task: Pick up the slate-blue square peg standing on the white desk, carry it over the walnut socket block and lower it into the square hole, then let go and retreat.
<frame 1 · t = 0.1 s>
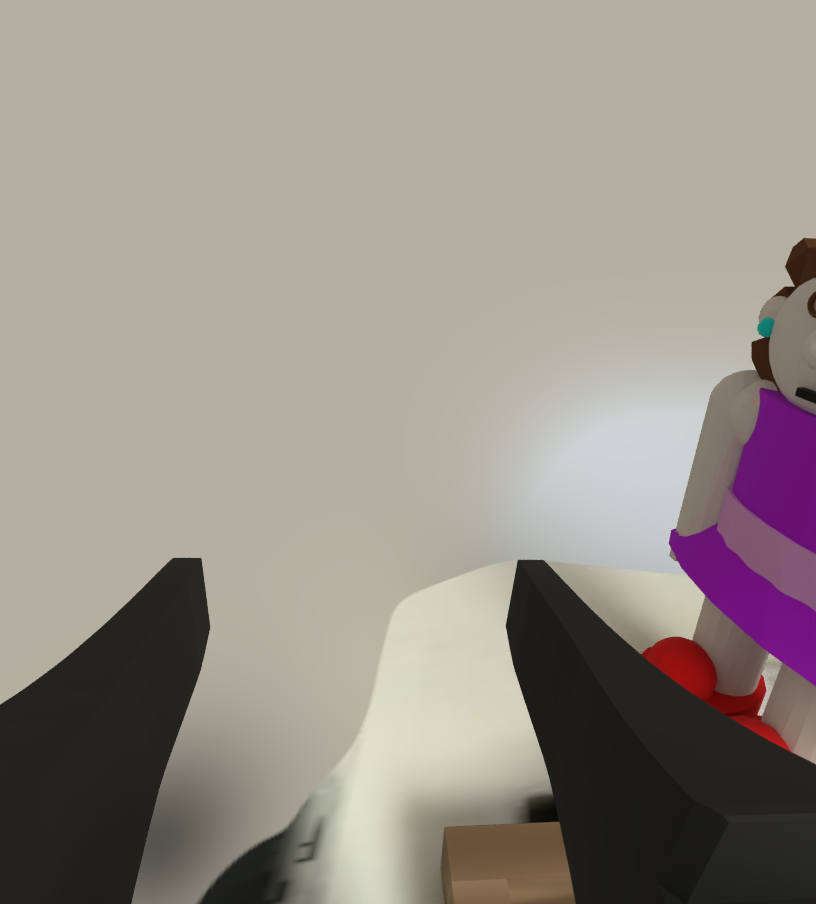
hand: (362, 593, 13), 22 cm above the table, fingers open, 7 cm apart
toy 2: (720, 751, 36), on the table
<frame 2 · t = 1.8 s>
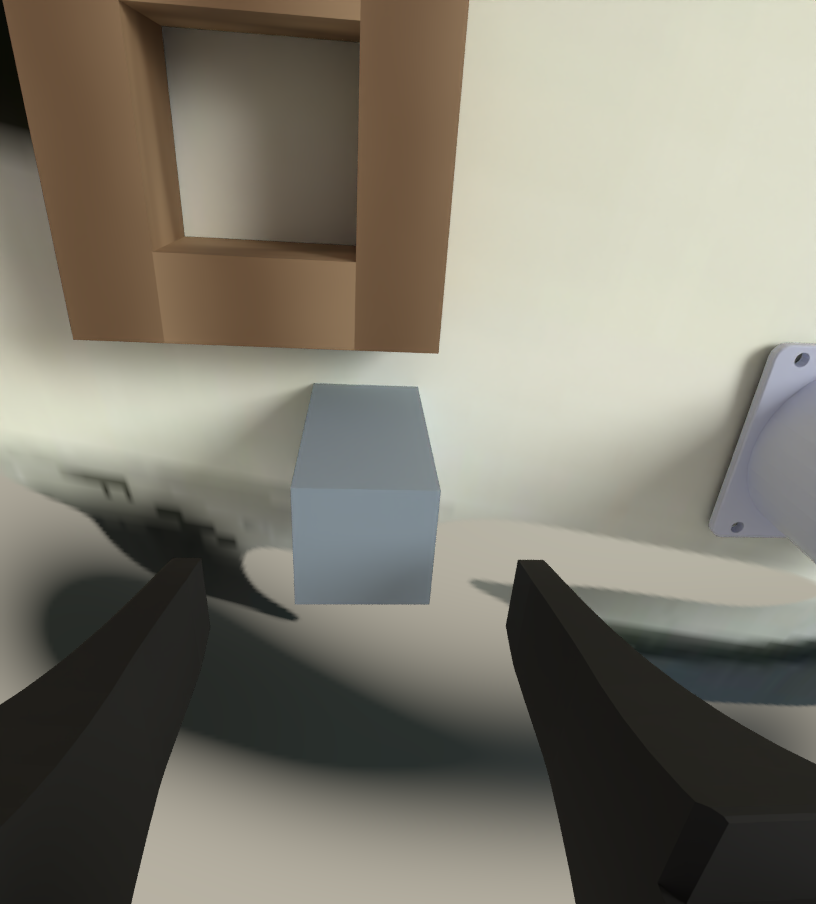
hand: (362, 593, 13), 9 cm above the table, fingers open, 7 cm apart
peg: (364, 431, 21), on the table
socket block: (267, 145, 17), on the table
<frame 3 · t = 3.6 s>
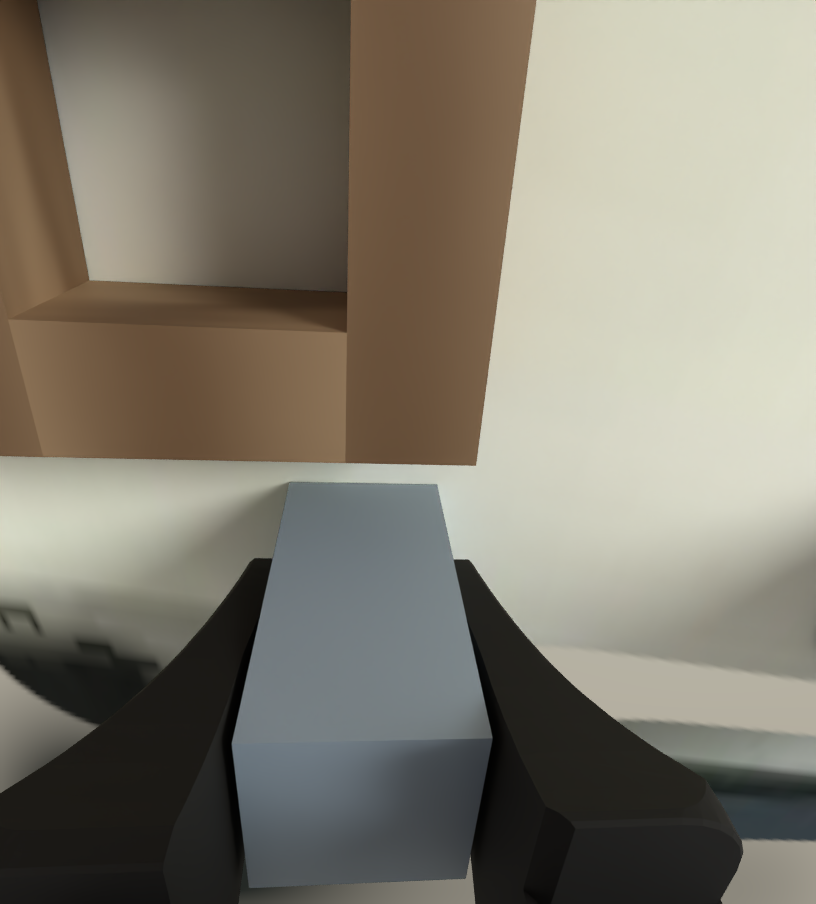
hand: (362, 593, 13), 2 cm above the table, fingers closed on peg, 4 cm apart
peg: (362, 543, 15), on the table, touching gripper
socket block: (210, 142, 11), on the table
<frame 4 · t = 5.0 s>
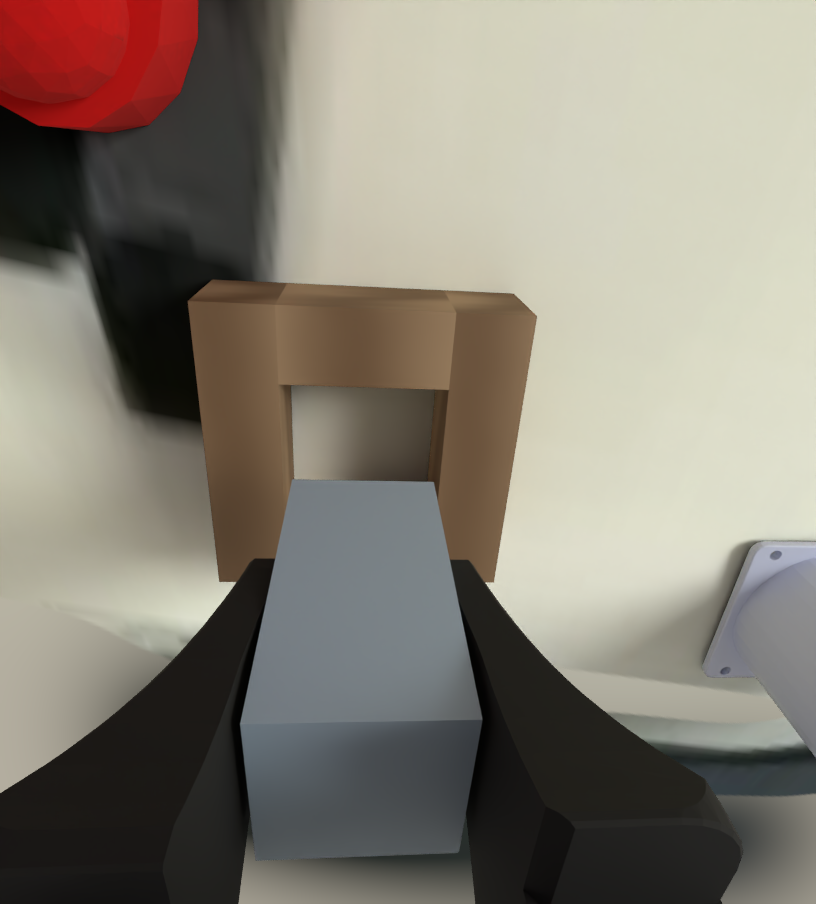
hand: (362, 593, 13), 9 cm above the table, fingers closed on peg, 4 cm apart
peg: (362, 538, 16), point 7 cm above the table, touching gripper
socket block: (362, 423, 22), on the table
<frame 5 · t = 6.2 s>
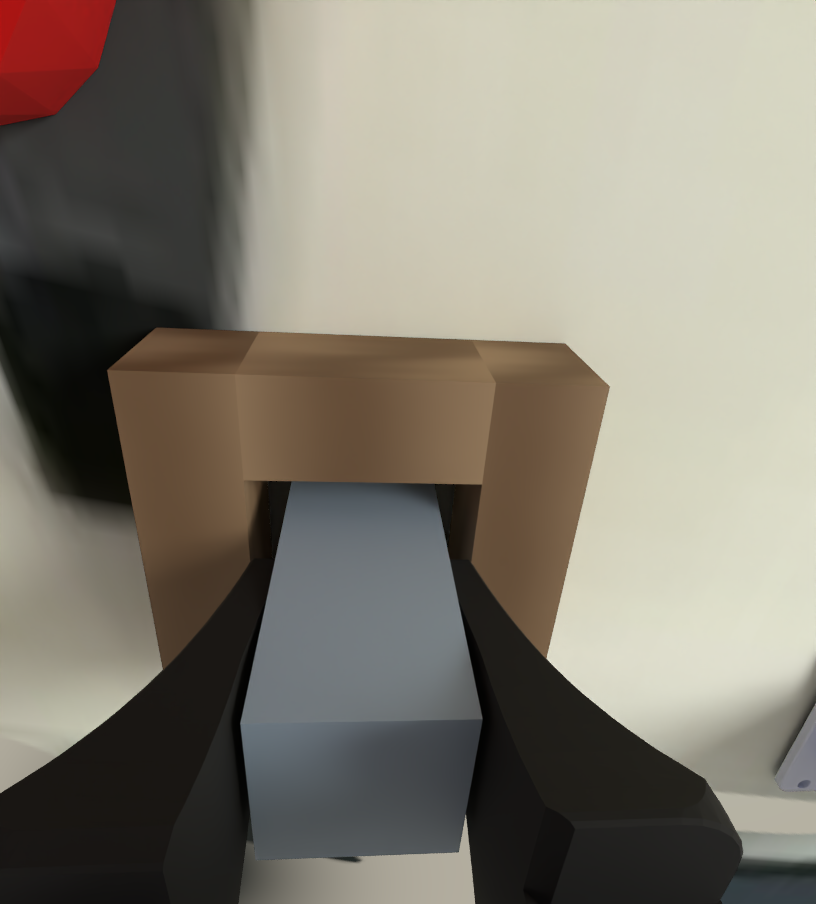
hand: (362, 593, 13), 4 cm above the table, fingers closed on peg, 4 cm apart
peg: (362, 537, 16), point 1 cm above the table, touching gripper
socket block: (362, 507, 17), on the table
when the fingers open (4 cm above the table, at t = 6.8 s): peg drops 1 cm, resting in socket block.
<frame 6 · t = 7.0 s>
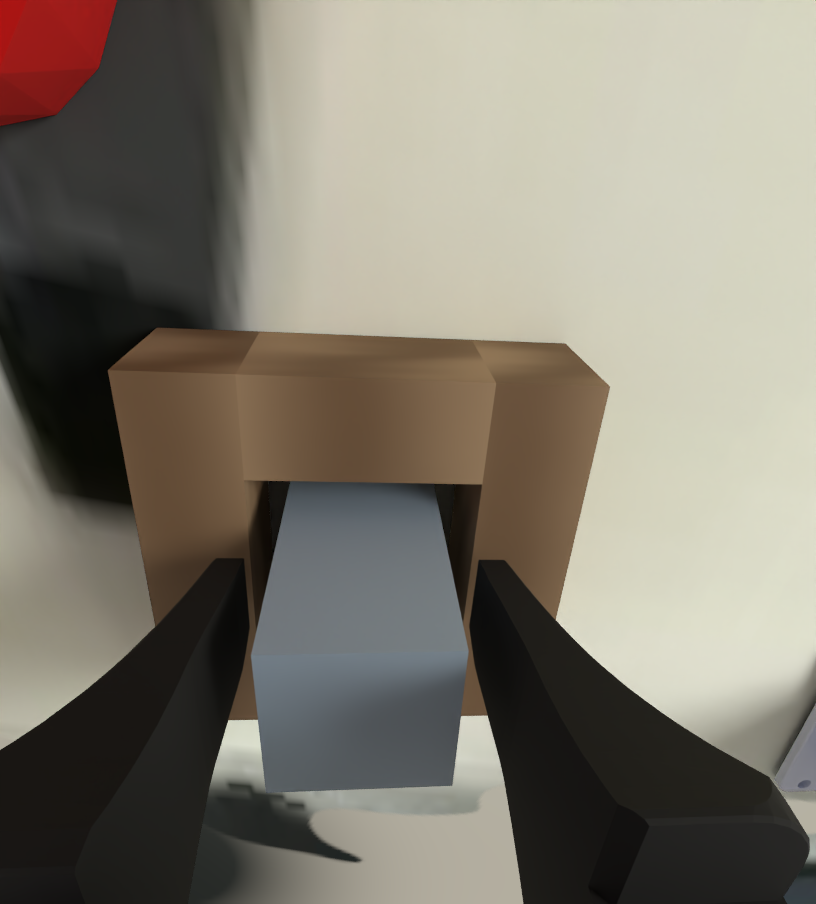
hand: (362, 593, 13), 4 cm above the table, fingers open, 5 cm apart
peg: (362, 512, 17), resting in socket block
socket block: (362, 507, 17), on the table
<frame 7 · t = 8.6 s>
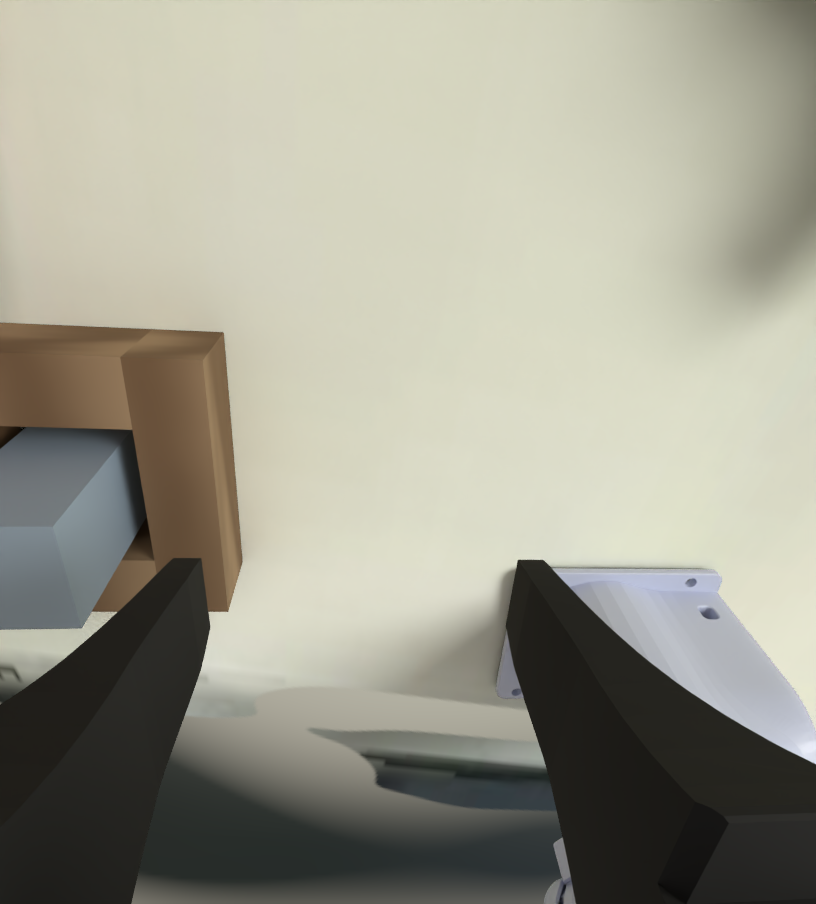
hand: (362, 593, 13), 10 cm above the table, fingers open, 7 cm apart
peg: (100, 459, 22), resting in socket block
socket block: (99, 455, 22), on the table
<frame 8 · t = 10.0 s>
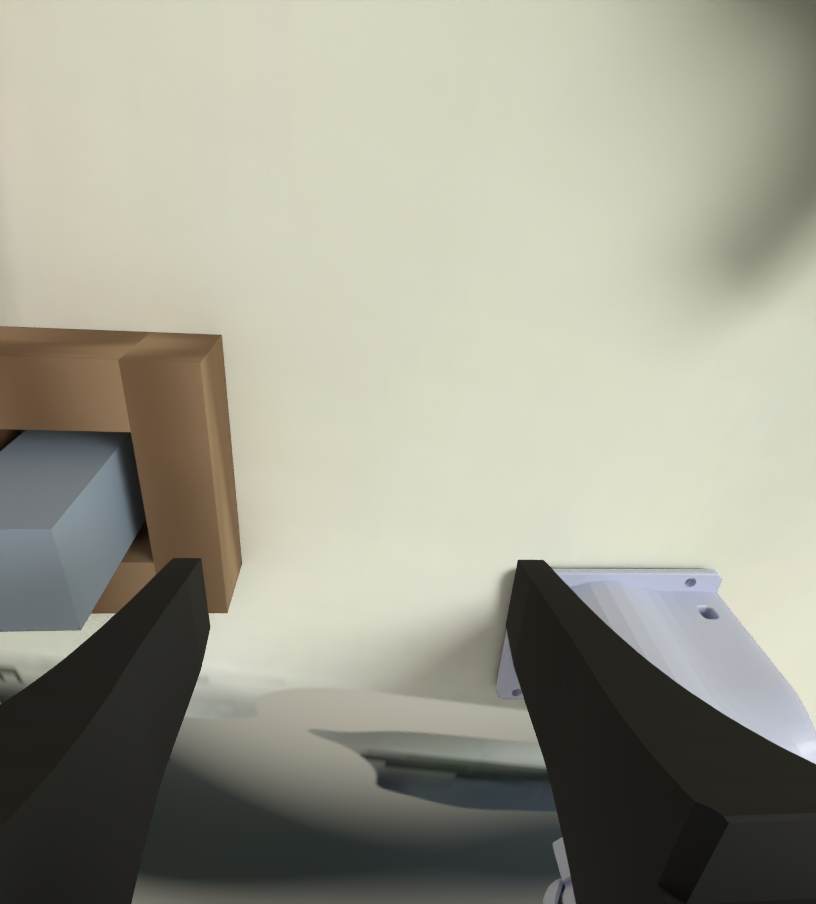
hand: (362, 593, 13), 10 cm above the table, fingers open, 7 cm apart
peg: (100, 462, 22), resting in socket block
socket block: (98, 458, 22), on the table
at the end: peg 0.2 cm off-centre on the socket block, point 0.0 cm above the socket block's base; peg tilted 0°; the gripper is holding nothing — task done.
